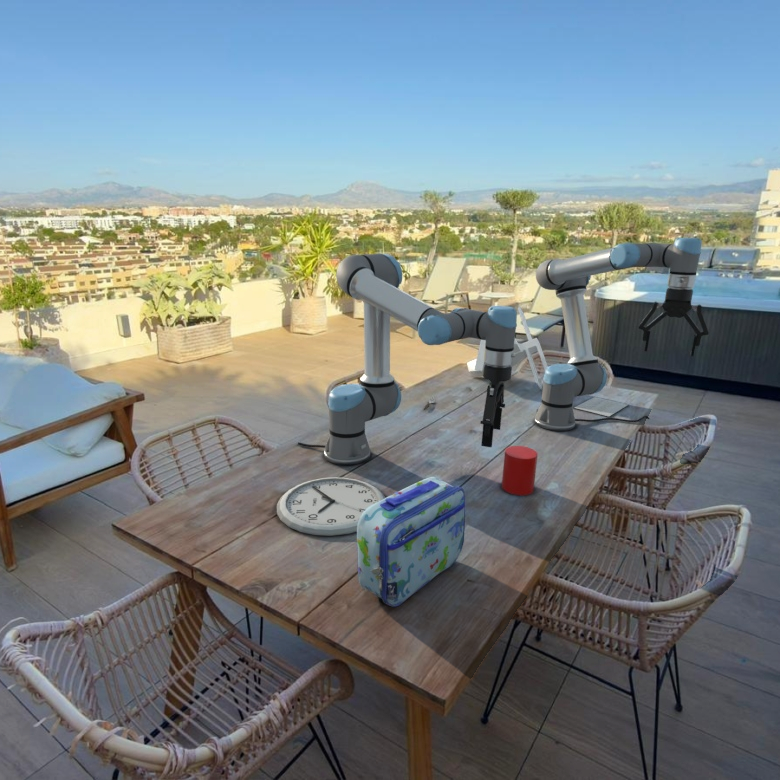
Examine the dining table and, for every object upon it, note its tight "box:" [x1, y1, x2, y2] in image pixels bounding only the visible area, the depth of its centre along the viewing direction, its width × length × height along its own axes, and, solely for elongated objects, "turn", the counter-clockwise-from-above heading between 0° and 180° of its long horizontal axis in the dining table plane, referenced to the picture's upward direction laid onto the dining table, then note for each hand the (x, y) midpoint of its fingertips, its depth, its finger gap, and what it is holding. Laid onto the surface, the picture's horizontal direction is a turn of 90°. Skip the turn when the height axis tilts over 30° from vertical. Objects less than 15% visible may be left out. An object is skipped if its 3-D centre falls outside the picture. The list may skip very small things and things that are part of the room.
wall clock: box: [276, 476, 386, 537], centre depth 142 cm, size 30×2×30 cm
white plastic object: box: [466, 306, 549, 390], centre depth 259 cm, size 37×45×31 cm
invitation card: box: [573, 396, 629, 418], centre depth 226 cm, size 21×1×15 cm
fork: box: [423, 395, 437, 411], centre depth 224 cm, size 3×16×2 cm, turn 160°
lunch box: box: [356, 476, 466, 608], centre depth 110 cm, size 26×11×21 cm, turn 134°
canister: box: [501, 445, 538, 496], centre depth 153 cm, size 9×9×12 cm
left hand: (491, 437), depth 147 cm, fingers open, 13 cm apart
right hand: (668, 353), depth 173 cm, fingers open, 13 cm apart
